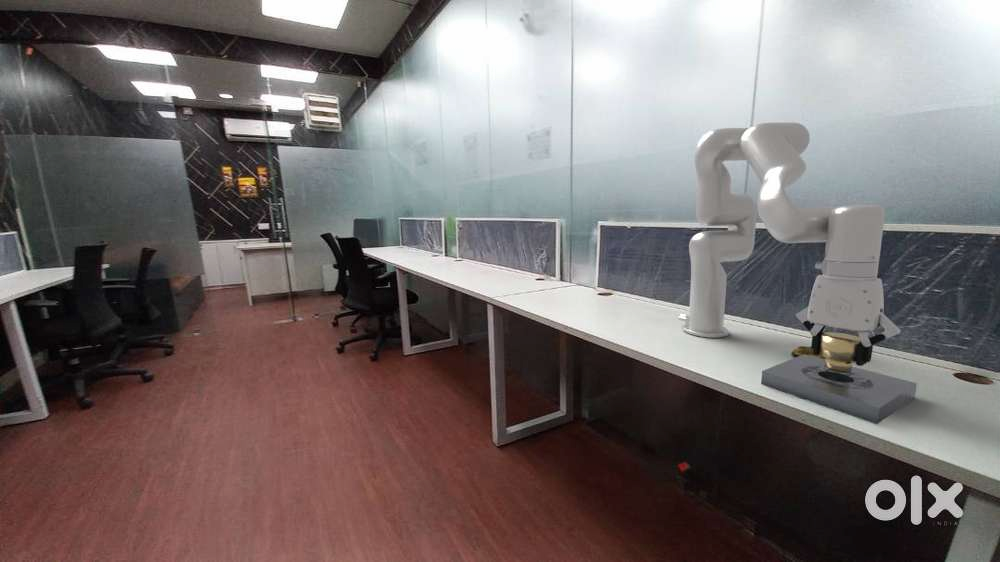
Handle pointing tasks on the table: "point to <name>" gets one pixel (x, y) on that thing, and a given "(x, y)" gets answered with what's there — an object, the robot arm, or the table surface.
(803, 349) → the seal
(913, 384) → the jig
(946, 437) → the table surface
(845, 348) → the gold cylinder
